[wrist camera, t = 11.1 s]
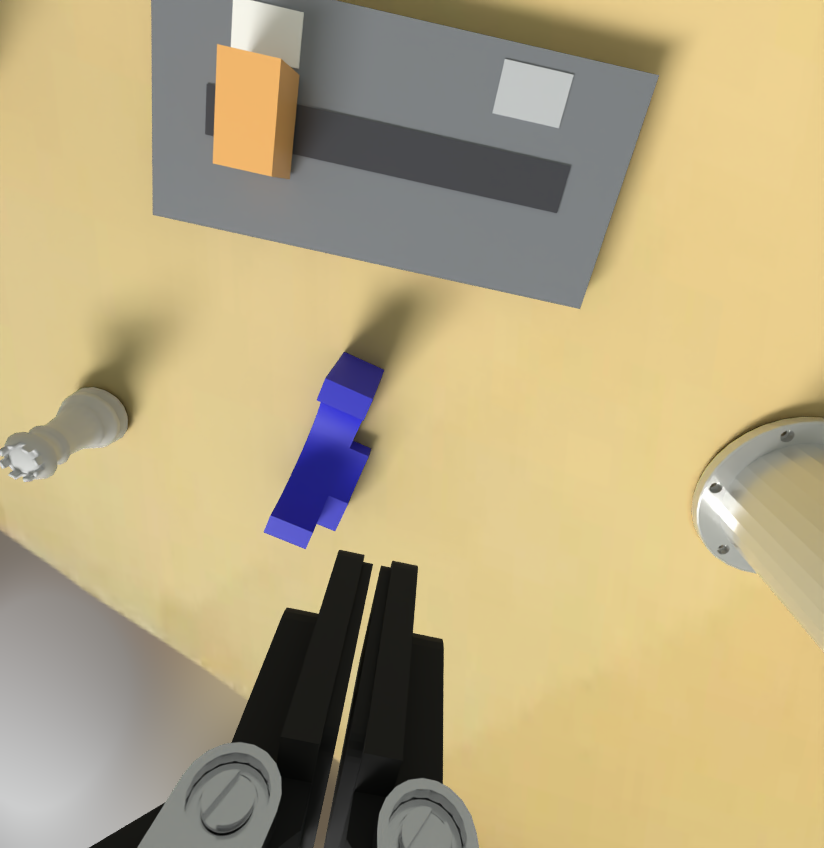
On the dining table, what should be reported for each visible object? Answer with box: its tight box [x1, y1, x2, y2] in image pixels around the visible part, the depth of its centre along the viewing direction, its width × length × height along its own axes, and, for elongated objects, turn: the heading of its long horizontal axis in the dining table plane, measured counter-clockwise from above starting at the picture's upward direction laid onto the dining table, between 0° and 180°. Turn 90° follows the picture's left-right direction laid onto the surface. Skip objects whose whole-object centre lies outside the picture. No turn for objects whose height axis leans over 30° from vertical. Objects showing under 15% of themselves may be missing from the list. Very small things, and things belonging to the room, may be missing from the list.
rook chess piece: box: [0, 387, 128, 482], centre depth 34 cm, size 4×4×8 cm
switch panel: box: [151, 0, 659, 309], centre depth 28 cm, size 26×12×2 cm, turn 79°
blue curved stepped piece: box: [264, 352, 384, 549], centre depth 34 cm, size 12×4×6 cm, turn 156°
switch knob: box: [213, 44, 300, 179], centre depth 26 cm, size 3×5×3 cm, turn 169°
